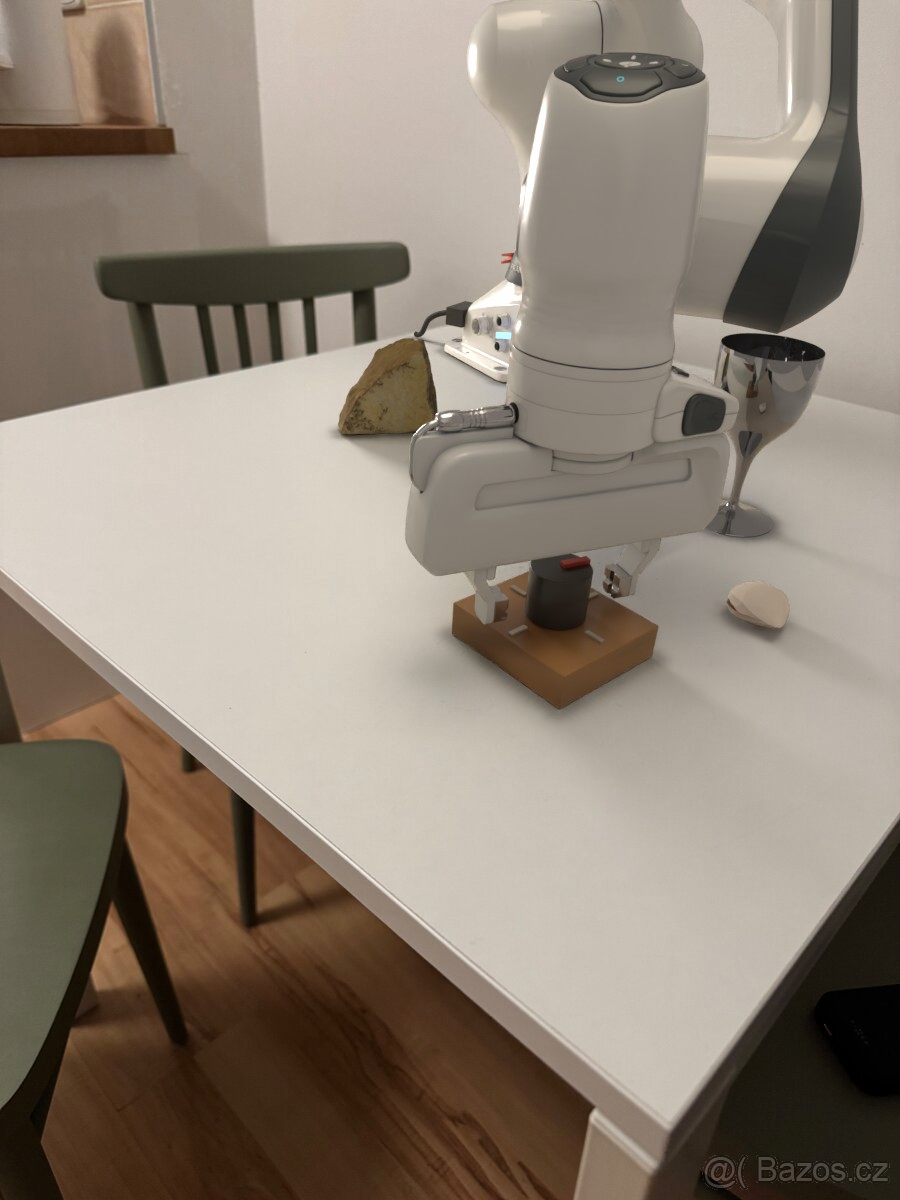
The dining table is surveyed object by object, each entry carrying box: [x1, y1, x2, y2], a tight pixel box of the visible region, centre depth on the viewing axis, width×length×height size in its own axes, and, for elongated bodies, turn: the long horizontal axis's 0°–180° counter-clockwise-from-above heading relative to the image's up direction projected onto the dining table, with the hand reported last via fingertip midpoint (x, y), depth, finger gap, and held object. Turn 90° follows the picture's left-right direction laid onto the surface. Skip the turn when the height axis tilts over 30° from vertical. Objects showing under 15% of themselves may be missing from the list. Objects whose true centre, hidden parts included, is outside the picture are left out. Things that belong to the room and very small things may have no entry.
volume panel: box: [451, 570, 659, 710], centre depth 55 cm, size 10×9×3 cm
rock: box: [337, 337, 439, 435], centre depth 87 cm, size 11×9×10 cm
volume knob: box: [525, 553, 594, 630], centre depth 54 cm, size 4×4×4 cm
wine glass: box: [705, 332, 826, 538], centre depth 70 cm, size 8×8×15 cm
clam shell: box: [726, 580, 791, 629], centre depth 59 cm, size 4×5×2 cm
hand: (556, 605), depth 54 cm, fingers open, 8 cm apart
